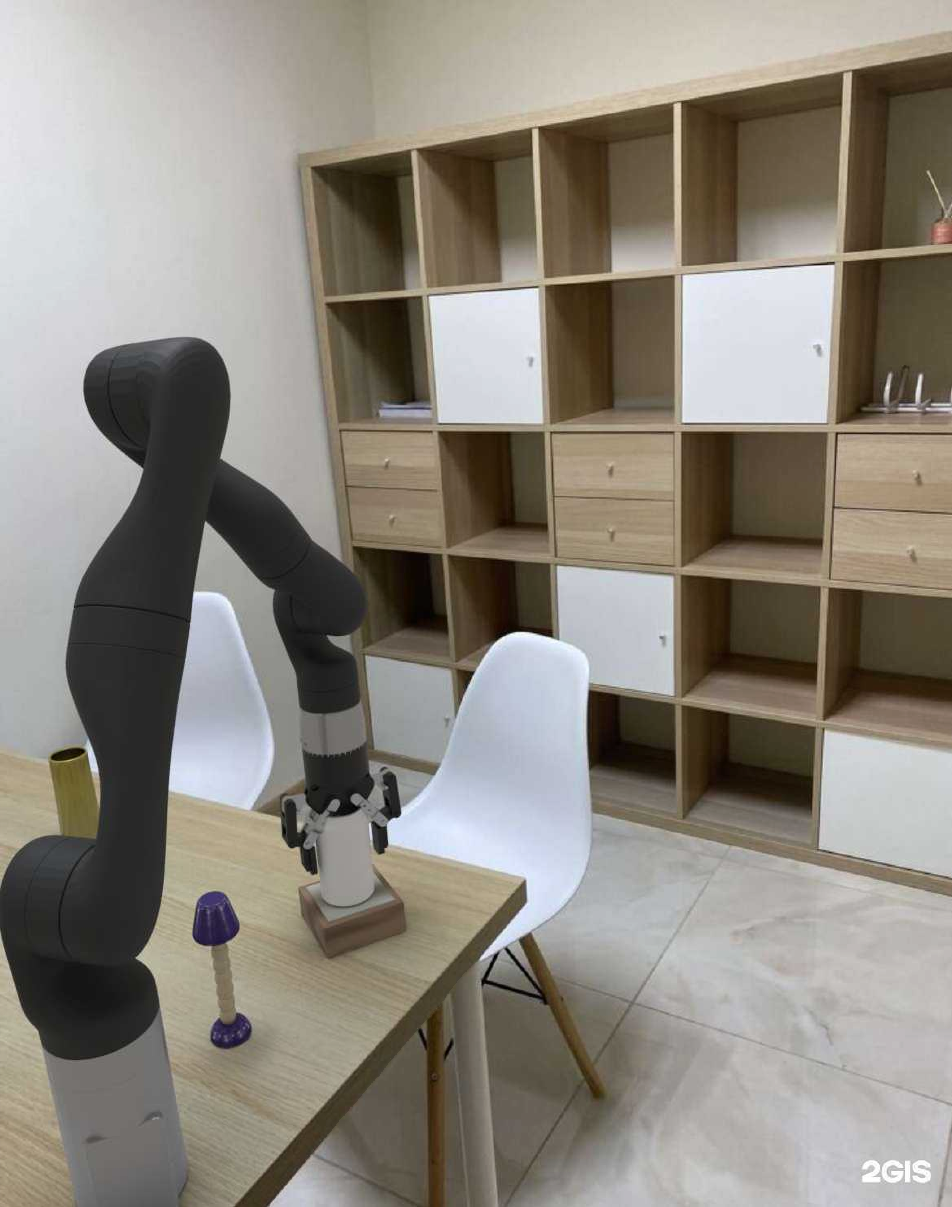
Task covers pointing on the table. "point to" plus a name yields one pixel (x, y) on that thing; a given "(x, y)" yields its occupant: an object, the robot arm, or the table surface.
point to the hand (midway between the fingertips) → (346, 861)
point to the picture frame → (352, 917)
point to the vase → (74, 792)
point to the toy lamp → (221, 965)
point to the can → (345, 859)
